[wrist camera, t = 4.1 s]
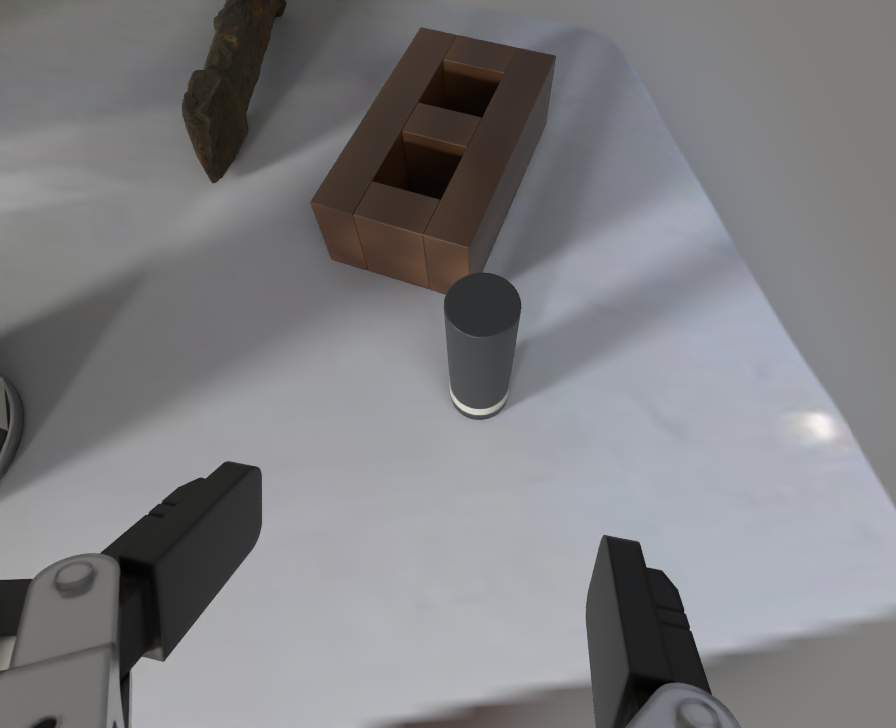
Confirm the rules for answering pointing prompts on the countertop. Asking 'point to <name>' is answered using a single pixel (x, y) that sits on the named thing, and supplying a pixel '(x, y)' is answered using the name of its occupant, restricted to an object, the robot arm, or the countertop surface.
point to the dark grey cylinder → (481, 342)
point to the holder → (436, 160)
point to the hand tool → (228, 82)
